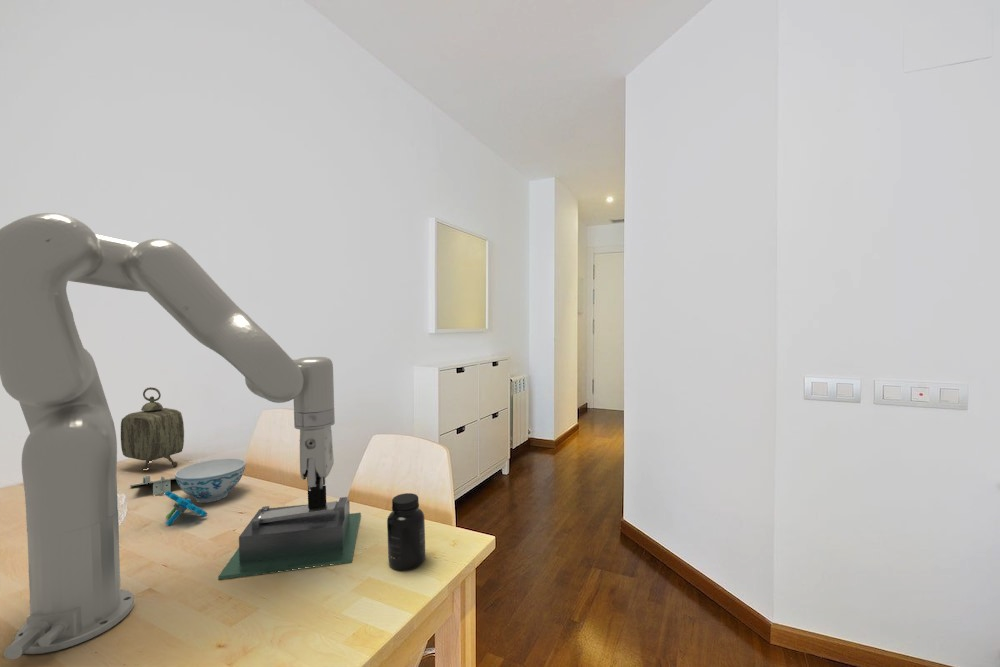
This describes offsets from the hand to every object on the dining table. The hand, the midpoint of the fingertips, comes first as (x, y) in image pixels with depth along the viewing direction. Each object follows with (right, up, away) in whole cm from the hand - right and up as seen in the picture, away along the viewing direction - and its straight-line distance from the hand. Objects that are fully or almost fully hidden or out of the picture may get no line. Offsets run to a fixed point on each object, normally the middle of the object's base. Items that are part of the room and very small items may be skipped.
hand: (317, 506), depth 87 cm
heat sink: (-3, -7, -1) cm, 8 cm away
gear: (-34, -7, +10) cm, 36 cm away
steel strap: (-3, -1, -1) cm, 4 cm away
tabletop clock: (-70, -6, +44) cm, 82 cm away
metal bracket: (-54, -7, +29) cm, 62 cm away
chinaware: (-36, -7, +22) cm, 43 cm away
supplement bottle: (+20, -7, -8) cm, 23 cm away
